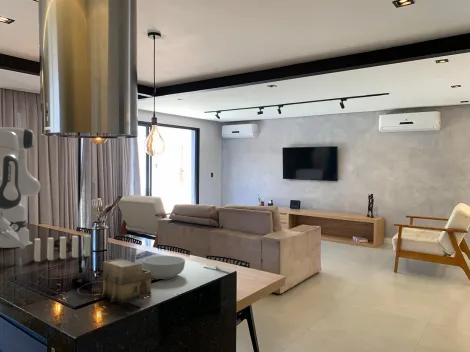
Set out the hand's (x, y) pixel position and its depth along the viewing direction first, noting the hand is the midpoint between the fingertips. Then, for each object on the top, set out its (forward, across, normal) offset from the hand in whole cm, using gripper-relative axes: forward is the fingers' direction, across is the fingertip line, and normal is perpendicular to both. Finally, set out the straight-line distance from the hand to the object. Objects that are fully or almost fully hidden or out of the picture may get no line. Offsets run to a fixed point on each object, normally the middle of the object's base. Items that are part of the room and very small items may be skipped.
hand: (24, 247), depth 165 cm
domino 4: (+20, 0, -11) cm, 23 cm away
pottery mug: (+19, +19, -10) cm, 29 cm away
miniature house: (+24, -72, -14) cm, 77 cm away
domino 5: (+24, 0, -15) cm, 28 cm away
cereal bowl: (+37, -57, -27) cm, 73 cm away
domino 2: (+12, 0, -3) cm, 13 cm away
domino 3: (+16, 0, -7) cm, 18 cm away
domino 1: (+8, 0, +1) cm, 8 cm away
